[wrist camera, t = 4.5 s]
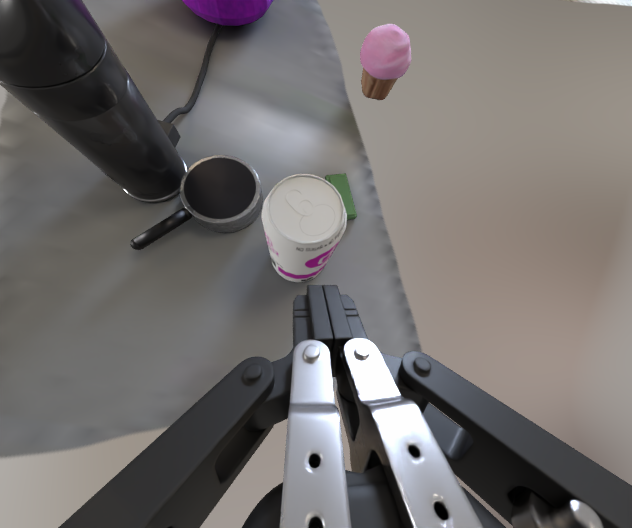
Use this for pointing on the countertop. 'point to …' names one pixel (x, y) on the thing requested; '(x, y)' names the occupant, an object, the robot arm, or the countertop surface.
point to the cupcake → (384, 60)
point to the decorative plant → (229, 10)
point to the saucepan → (213, 198)
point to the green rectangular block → (343, 193)
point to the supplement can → (302, 225)
